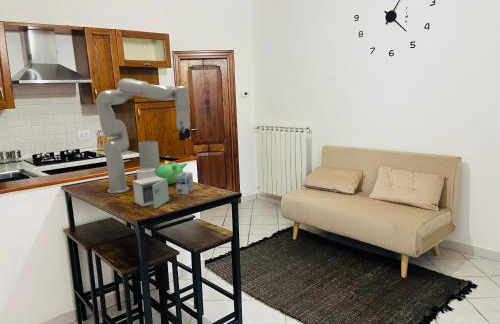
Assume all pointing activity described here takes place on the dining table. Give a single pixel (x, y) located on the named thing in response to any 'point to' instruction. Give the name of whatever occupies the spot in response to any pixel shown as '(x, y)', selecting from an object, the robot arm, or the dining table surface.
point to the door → (160, 193)
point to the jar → (145, 173)
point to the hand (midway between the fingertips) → (184, 139)
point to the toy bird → (170, 171)
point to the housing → (144, 190)
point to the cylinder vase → (149, 155)
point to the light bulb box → (184, 182)
